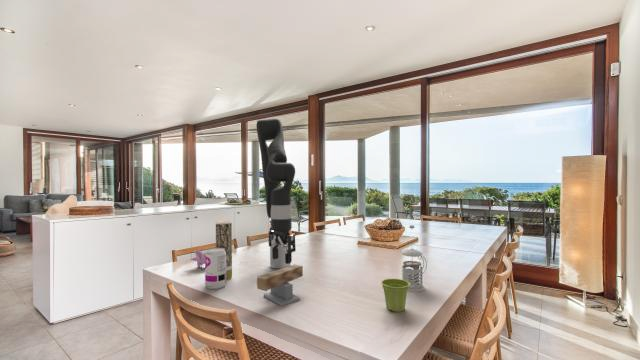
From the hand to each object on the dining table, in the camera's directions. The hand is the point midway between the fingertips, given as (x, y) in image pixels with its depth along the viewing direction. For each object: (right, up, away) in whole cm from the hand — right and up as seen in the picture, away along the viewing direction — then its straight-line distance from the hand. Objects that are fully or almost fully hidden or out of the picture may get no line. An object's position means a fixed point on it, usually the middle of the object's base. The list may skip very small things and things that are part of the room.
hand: (281, 260), depth 117 cm
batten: (0, -8, 0) cm, 8 cm away
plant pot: (+39, -14, -10) cm, 43 cm away
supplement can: (-29, -14, +14) cm, 35 cm away
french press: (+52, -14, +11) cm, 55 cm away
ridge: (0, -14, 0) cm, 14 cm away
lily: (-44, -14, +40) cm, 61 cm away
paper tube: (-29, -14, +24) cm, 40 cm away
